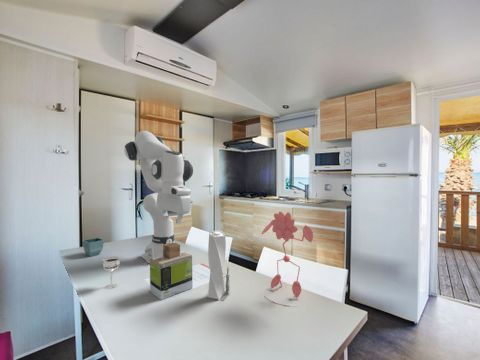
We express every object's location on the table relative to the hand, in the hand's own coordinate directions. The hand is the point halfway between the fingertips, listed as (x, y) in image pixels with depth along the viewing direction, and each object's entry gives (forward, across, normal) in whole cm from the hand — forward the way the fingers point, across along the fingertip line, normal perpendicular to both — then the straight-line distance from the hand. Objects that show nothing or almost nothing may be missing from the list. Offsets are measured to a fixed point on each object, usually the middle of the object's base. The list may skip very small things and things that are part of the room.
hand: (172, 221), depth 103 cm
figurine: (+29, +38, +29) cm, 55 cm away
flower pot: (+31, -73, -7) cm, 79 cm away
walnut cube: (+15, 0, 0) cm, 15 cm away
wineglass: (+30, -22, -16) cm, 40 cm away
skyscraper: (+30, +18, +10) cm, 36 cm away
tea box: (+30, 0, 0) cm, 30 cm away
